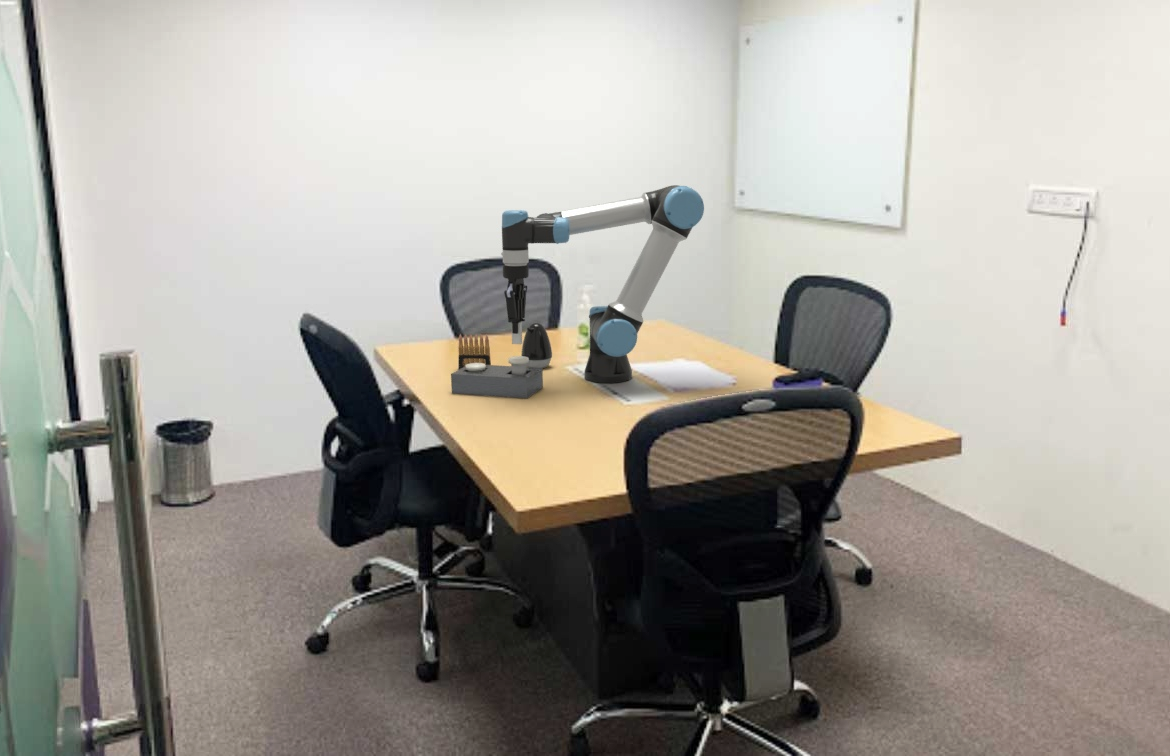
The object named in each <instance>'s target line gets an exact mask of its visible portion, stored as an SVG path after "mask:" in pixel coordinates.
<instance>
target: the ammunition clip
mask: <svg viewBox="0 0 1170 756" xmlns="http://www.w3.org/2000/svg"><path fill="white" fill-rule="evenodd" d="M484 337H485V338H484ZM468 338H469V339H468ZM473 339H474V340H473ZM484 339H485V341H484ZM490 348H491V347H490V340H489V335H488V334H487V333H486V334H485V336H483V334H480V336H479V338H478V335H477V334H475V335H474V338H473V335H472V333H470V334H469V337H468V336H467V334H464V338H463V336H462V334H461V333H460V334H459V337H458V365H457V366H458V367H457V368H458V369H457V370H459V369H461V368H463V367H465V366H466V364H470V363H484V364H485V365H492V364H491V363H492V362H491V361H492V360H491V353H490V351H491V349H490Z"/></svg>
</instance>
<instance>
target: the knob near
mask: <svg viewBox="0 0 1170 756" xmlns="http://www.w3.org/2000/svg"><path fill="white" fill-rule="evenodd" d="M528 362H529V358H528V357H525V356H520V355H518V356H517V355H516V356H510V357H508V364H510V366H511V370H512V374H514V375H526V367H527V366H526V363H528Z"/></svg>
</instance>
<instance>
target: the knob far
mask: <svg viewBox="0 0 1170 756" xmlns="http://www.w3.org/2000/svg"><path fill="white" fill-rule="evenodd" d="M485 369H486V365H485V364H484V363H475V362H474V363H470V364H466V370H468V371H469V372H483V370H485Z"/></svg>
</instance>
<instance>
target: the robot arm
mask: <svg viewBox="0 0 1170 756" xmlns="http://www.w3.org/2000/svg"><path fill="white" fill-rule="evenodd" d="M704 212H705V205H704V200H703V198H702V196H701V195H700V194H699V192H697V190H695V189H694V188H692V187H690V186H687V185H676V184H675V185H673V184H672V185H669V186H668V185H667V186H664V187H662V188H659V189H655V190H651V191H647V192H643V193H642V195H641V196H638V197H633V198H627V199H622V200H617V201H611V202H606V203H601V204H600V203H599V204H593V205H588V206H583V207H577V208H572V209H567V210H561V211H555V212H552V213H551V212H550V213H547V212H544V213H541V214H539V215H537V216H536V217H531V216H529V212H528V211H527V210H522V209H515V210H513V209H511V210H505V211H503V212H502V216H501V241H502V242H501V243H502V244H501V245H502V252H501V253H500V255H501V256H502V263H503V265H502V277H503V278H504V279H507V280H508V282H507V290H504V292H503V294H504V297H505V304H506V310H507V311H506V313H507V321H508V323H511V344H512V345H523V322H525V321H526V319H525V318H526V317H525V315H526V306H527V302H526V300H527V292H528V285H526V284H525V281H524V280H525V279H527V278H529V276H530V275H529V273H530V272H529V271H530V269H529V268H530V267H529V265H528V264H529V262H530V261H529V260H530V259H529V244H556V245H559V244H567V243H568V242H569V240H570V236H572V235H579V234H584V233H588V232H589V233H591V232H594V231H600V230H605V229H611V228H617V227H623V226H628V225H634V224H639V223H646V224H648V225H652V231H651V233H650V235H649V236H648V238H647V241H645V244H644V246H643V248H642V249H641V251H640V254H639V256H638V258H637V259H636V262H635V264H633V265H634V266H633V267H632V270H631V271H630V273H629V276H628V278H627V280H626V281H625V283H624V285H623V286H622V289H621V291H620V293H619V295H618V297H617V299H616V300H615V301H613V302H610V303H608V305H601V306H600V305H599V306H592V307H590V309H589V315H588V318H589V355H588V358H587V362H586V365H585V368H584V379H585V380H587V381H589V382H593V383H599V384H601V383H604V384H606V383H607V384H613V383H623V382H626V381H629V380H631V379H632V378H633V369H632V366H631V364H630V361H629V358H628V355H629V354H630V353H631V352H632V351H633V349H635V347H636V345H637V342H638V334H639V331H640V329H641V327H642V325H643V324H644V317H643V313H644V310H645V309H646V307H647V305H648V303H649V301H650V298H651V297H652V295H653V293H654V291H655V289H656V287H657V285H658V284H659V282H660V280H661V278H662V275H663V274H664V272H665V270H666V267H667V266H668V264H669V262H670V260H671V258H672V256H673V254H674V253H675V251H676V249H677V247H678V245H679V243H680V242H682V241H685V240H687V239H688V237H689V236H690V233H691V231H692V229H693V228H694V227H695V226H696V225H697V224H699V222H700V221H701V220H702V219H703V217H704V214H705V213H704Z"/></svg>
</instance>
